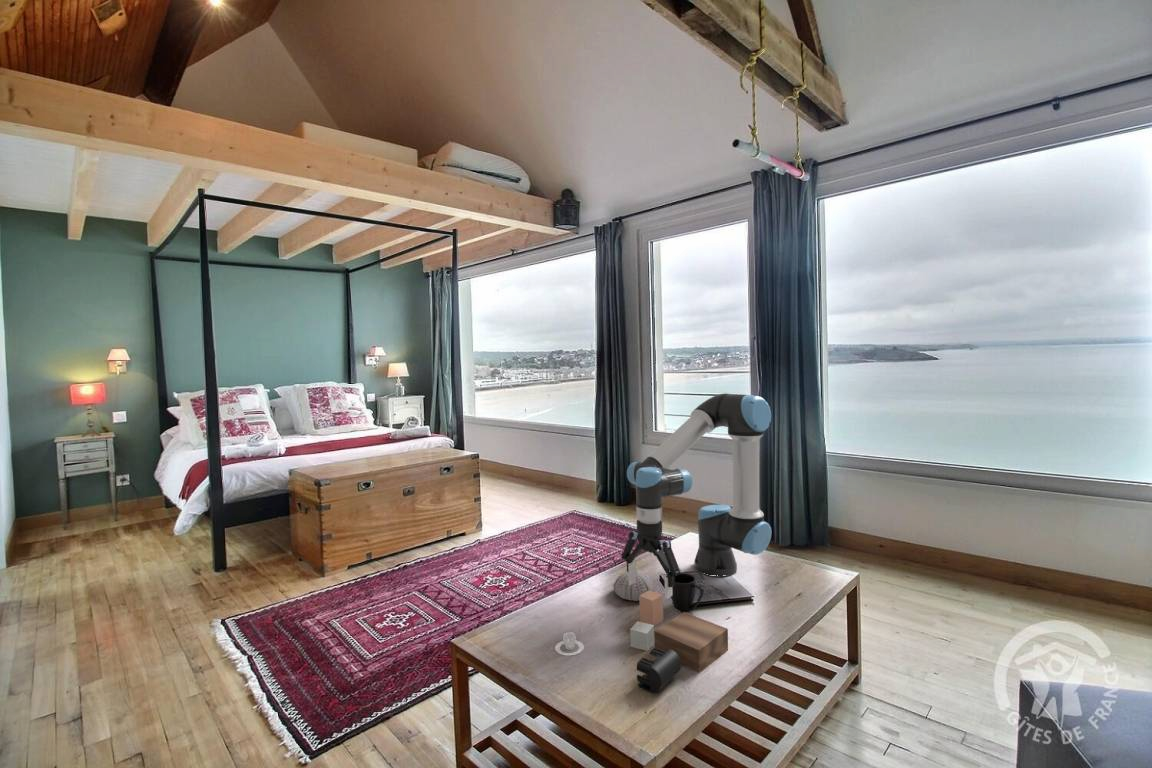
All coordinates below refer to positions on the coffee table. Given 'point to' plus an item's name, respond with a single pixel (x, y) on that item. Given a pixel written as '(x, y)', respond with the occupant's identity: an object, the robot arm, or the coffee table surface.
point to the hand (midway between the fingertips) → (650, 589)
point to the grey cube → (642, 635)
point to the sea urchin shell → (632, 586)
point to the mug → (685, 592)
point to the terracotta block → (651, 607)
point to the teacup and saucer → (569, 644)
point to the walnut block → (692, 640)
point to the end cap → (658, 670)
